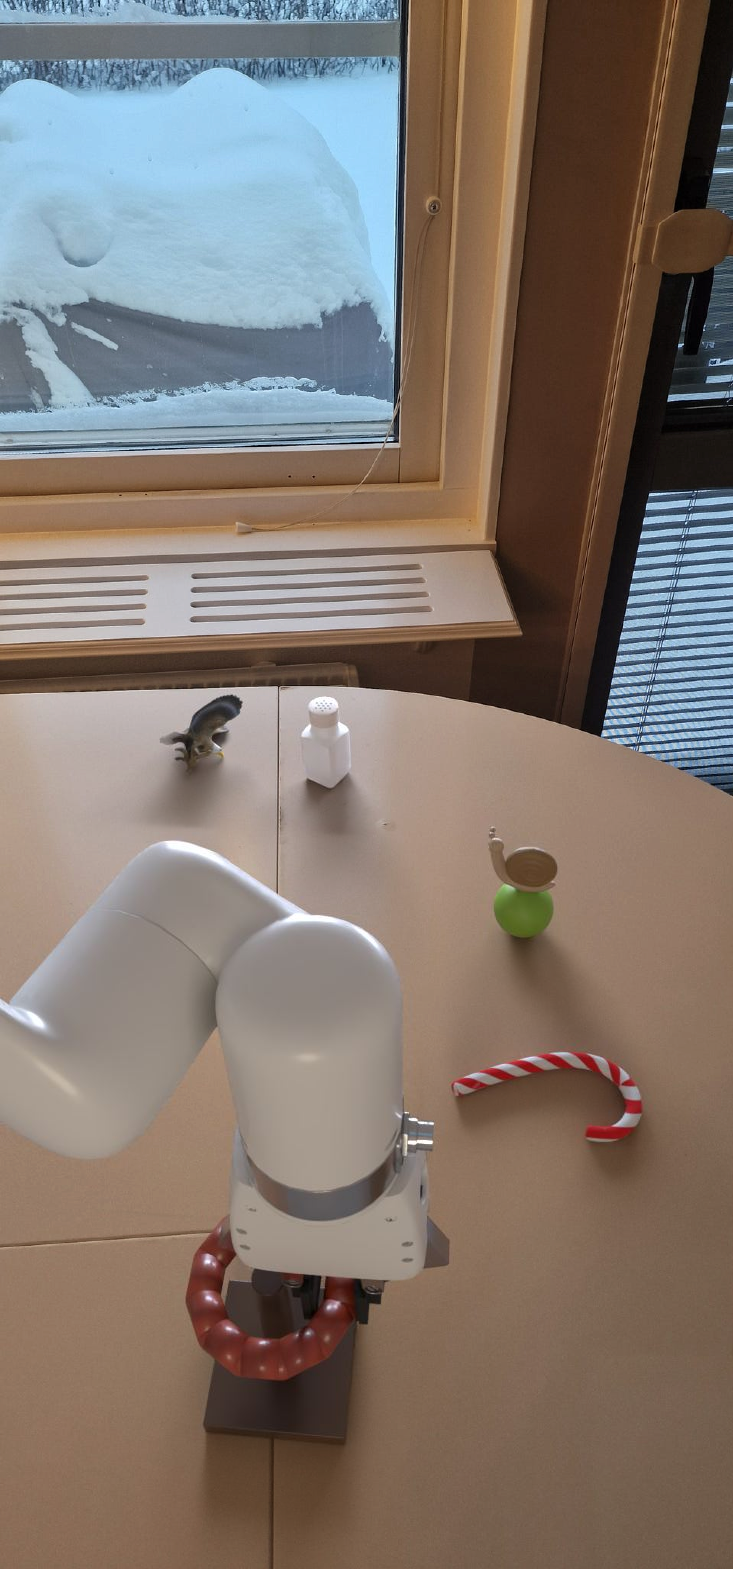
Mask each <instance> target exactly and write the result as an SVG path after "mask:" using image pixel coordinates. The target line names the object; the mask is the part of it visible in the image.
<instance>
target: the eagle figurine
mask: <svg viewBox="0 0 733 1569" xmlns="http://www.w3.org/2000/svg"><path fill="white" fill-rule="evenodd" d="M243 703H244V701H242V700H241V698H240V697H239V696H237V695H235V694H226V695H219V697H216V698H214V699H212V700H211V701H210V702H208V703H206V704H205V705H203V706H202V707H201V708H200V709H198V710H197V711H195V713H194V714H193V715H192V717H191V719H190V720H191V721H190V723H189V727H187V728H186V729H185V730H183V731H182V732H178V731H173V732H170V733H167V734H166V735H164V736H161V737H160V738H159V743H160V744H162V745H165V746H172V745H176V744H178V743H180V744H183V745H184V747H185V748H184V747H182V746H180V747H176V748H174V751H176V752H177V751H179V752H181V753H182V754H183V757H182V756H176V757H174V760H175V761H177V762H179V761H181V762H184V763H185V767H186V769H185V772H186V774H190V772H191V771H192V770H193V769H195V767H196V766H197V763H198V761H199V760H200V759H204V758H207V757H209V756H210V755H211V753H212V754H215V755H218V756H219V757H221V758H225V754H224V753H223V749H222V747H220V746H219V745H217V744H216V743H215V742H214V741H213V740H212V737H213V735H216V734H220V733H227V732H229V731H230V729H228V727H226V726H225V725H226V724H227V723H228V722H229V721H232V720H233V719H235V718H237V717H238V716H239V715H240V714H241V709H242V707H243ZM200 751H202V752H200Z"/></svg>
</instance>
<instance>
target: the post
mask: <svg viewBox="0 0 733 1569" xmlns="http://www.w3.org/2000/svg"><path fill="white" fill-rule="evenodd" d="M324 1288H325V1286H324V1287H322V1286H320V1295H319V1303H318V1308H319V1306H320V1305H321V1304H322V1302H323V1297H324ZM224 1306H225V1309H226V1311H227V1314H228V1317H229V1320H230V1321H231V1322H232V1323H234V1324H235V1325H236V1326H238V1327H239V1328H240V1329H241V1330H243V1331H244V1332H245V1333H247V1334H248V1335H249V1336H250V1337H259V1338H272V1339H281V1338H283V1337H285V1336H287V1335H289V1334H291V1333H293V1332H295V1331H297V1330H299V1329H301V1328H303V1327H305V1326H306V1325H307V1324H308V1322H309V1321H310V1320H305V1319H304V1316H303V1310H302V1303H301V1298H296V1297H293V1295H292V1290H291V1287H287V1286H285V1285H283V1284H282V1279H281V1273H280V1272H276V1271H267V1270H261V1269H256V1268H253V1271H252V1274H251V1277H250V1281H249V1280H238V1279H229V1280H228V1284H227V1290H226V1295H225V1301H224ZM357 1323H358V1321H356V1320H355V1319H354V1321H353V1322H352V1324H351V1325H350V1327H349V1328H348V1330H347V1331H346V1333H345V1334H344V1336H343V1337H342V1339H341V1340H340V1342H339V1343H338V1345H337V1346H336V1348H335V1349H334V1351H333V1352H332V1354H331V1355H330V1356H329V1357H328V1358H327V1359H326V1360H324V1361H322V1362H320V1363H318V1364H316V1365H314V1366H312V1367H310V1368H308V1369H306V1370H304V1371H303V1372H301V1373H299V1374H297V1375H295V1376H293V1377H291V1378H289V1379H287V1380H269V1379H257V1378H244V1377H238V1376H236V1375H234V1374H233V1373H231V1372H230V1371H229V1370H228V1369H226V1368H225V1367H224V1366H223V1365H221V1364H220V1363H219V1362H218V1361H216V1360H215V1359H214V1360H213V1367H212V1372H211V1378H210V1384H209V1389H208V1395H207V1399H206V1400H207V1402H206V1405H205V1411H204V1417H203V1423H202V1426H203V1428H204V1431H205V1433H207V1434H217V1435H227V1436H229V1435H230V1436H237V1437H238V1436H239V1437H250V1438H260V1439H271V1440H280V1441H281V1440H282V1441H290V1442H291V1441H292V1442H303V1443H313V1444H324V1445H335V1446H346V1445H347V1434H348V1424H349V1423H348V1421H349V1411H350V1400H351V1398H350V1397H351V1388H352V1377H353V1365H354V1357H355V1356H354V1355H355V1343H356V1335H357V1334H356V1333H357Z"/></svg>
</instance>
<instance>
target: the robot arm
mask: <svg viewBox="0 0 733 1569" xmlns="http://www.w3.org/2000/svg"><path fill="white" fill-rule="evenodd" d="M402 992H403V991H402V983H401V979H400V975H399V972H398V970H397V967H396V965H395V963H394V961H393V959H392V957H391V956H390V954H389V953H388V951H387V950H386V949H385V947H384V946H383V944H382V943H380V941H379V940H378V939H376V937H374V936H373V935H372V934H371V933H369V932H368V931H366V930H365V929H363V928H362V927H360V926H359V925H356V924H354V923H352V922H350V921H347V920H344V919H341V918H337V917H333V916H330V915H329V916H328V915H321V914H311V913H308V911H305V910H304V909H302V908H300V907H299V906H297V905H296V904H294V903H292V902H291V901H289V900H287V899H286V898H285V897H282V896H281V895H279V894H278V893H277V892H275V891H273V890H272V889H270V888H269V887H267V886H266V885H265V884H264V883H261V882H260V881H259V880H258V879H256V878H254V877H253V876H251V875H250V874H249V873H247V872H245V871H244V870H243V869H241V868H239V867H238V866H237V865H235V864H233V863H232V862H230V861H229V860H228V859H227V858H225V857H224V856H222V855H221V854H219V853H217V852H215V851H212V850H210V849H208V848H206V847H202V846H200V845H197V844H194V843H191V842H187V841H183V840H163V841H159V842H156V843H154V844H151V845H149V846H148V847H146V848H145V849H143V850H142V851H140V853H138V854H136V856H134V857H133V859H132V860H131V861H129V863H127V865H126V866H125V867H124V868H123V869H122V870H121V871H120V873H119V874H118V875H117V876H116V877H115V878H114V880H113V881H112V882H111V883H110V885H108V886H107V888H106V889H105V890H104V892H102V894H101V895H100V896H99V897H98V898H97V899H96V900H95V902H94V903H93V904H92V905H91V907H90V908H88V910H87V911H86V913H85V914H84V915H82V917H80V918H79V919H78V920H77V922H76V923H75V924H74V925H73V926H72V927H71V929H69V931H68V932H67V934H65V935H64V937H63V938H62V939H61V940H60V942H59V943H58V944H57V945H56V946H55V947H54V949H53V950H52V951H51V952H50V953H49V955H47V957H45V959H44V960H43V961H42V963H40V965H39V966H38V967H37V968H36V970H35V971H34V972H33V973H32V974H31V975H30V976H29V978H28V979H27V980H26V981H25V982H24V983H23V985H22V986H21V987H20V988H19V989H18V990H17V991H16V993H15V994H14V995H13V996H12V998H11V999H9V1001H8V1003H7V1002H6V1001H4V1000H3V999H2V998H0V1123H1V1124H3V1125H4V1126H6V1127H7V1128H9V1130H12V1131H13V1132H15V1133H17V1134H18V1135H19V1136H22V1137H23V1138H25V1139H27V1140H29V1141H30V1142H32V1143H34V1144H35V1145H36V1146H38V1147H40V1148H43V1149H45V1150H47V1151H49V1152H52V1153H53V1154H56V1155H58V1156H59V1155H60V1156H62V1157H66V1158H68V1159H72V1160H73V1159H74V1160H79V1161H80V1160H81V1161H99V1160H104V1159H107V1158H111V1157H113V1156H115V1155H118V1154H120V1153H122V1152H123V1151H125V1150H128V1148H130V1147H131V1146H132V1145H134V1144H135V1143H136V1142H137V1141H139V1139H140V1138H141V1137H142V1136H143V1135H144V1134H145V1133H146V1132H147V1131H148V1129H149V1128H150V1127H151V1126H152V1124H153V1123H154V1121H155V1120H156V1119H157V1118H158V1116H159V1114H160V1113H161V1112H162V1111H163V1109H164V1107H165V1106H166V1105H167V1103H168V1102H169V1100H170V1099H171V1097H172V1096H173V1095H174V1094H175V1092H176V1090H177V1088H178V1087H179V1085H180V1084H181V1082H182V1081H183V1079H184V1078H185V1076H186V1074H187V1073H188V1071H189V1070H190V1068H191V1066H192V1065H193V1063H194V1062H195V1061H196V1059H197V1057H198V1056H199V1054H200V1053H201V1051H202V1050H203V1048H204V1047H205V1045H206V1044H207V1042H208V1040H209V1039H210V1037H211V1036H212V1034H213V1033H214V1031H215V1030H216V1028H217V1031H218V1035H219V1036H218V1037H219V1041H220V1045H221V1051H222V1055H223V1060H224V1065H225V1070H226V1075H227V1079H228V1085H229V1089H230V1090H229V1091H230V1094H231V1099H232V1104H233V1109H234V1113H235V1118H236V1119H235V1120H236V1124H235V1128H234V1131H233V1138H232V1142H231V1155H230V1165H229V1178H228V1204H229V1205H228V1206H229V1207H228V1208H229V1210H228V1212H229V1213H228V1214H227V1215H228V1216H227V1215H226V1216H227V1217H226V1216H225V1217H226V1218H225V1219H224V1221H223V1222H222V1226H221V1231H220V1236H219V1241H218V1246H219V1247H220V1248H222V1249H225V1250H229V1251H233V1252H236V1254H237V1255H236V1256H237V1258H238V1259H239V1260H240V1262H242V1263H243V1264H244V1265H245V1266H246V1267H249V1268H253V1269H255V1268H256V1269H261V1270H267V1271H276V1272H280V1273H281V1279H282V1284H283V1285H285V1286H287V1287H291V1290H292V1295H293V1297H296V1298H301V1303H302V1310H303V1316H304V1319H305V1320H310V1319H311V1318H312V1317H313V1315H314V1314H315V1312H316V1311H317V1309H318V1303H319V1295H320V1287H322V1286H321V1285H322V1278H323V1277H326V1276H332V1277H346V1278H355V1286H354V1308H355V1320H356V1321H357V1322H358V1325H366V1326H368V1324H369V1316H370V1315H369V1314H370V1305H381V1304H382V1297H383V1296H382V1294H384V1292H385V1284H386V1283H388V1282H391V1281H408V1280H411V1279H413V1278H415V1277H416V1276H418V1275H419V1274H420V1273H421V1272H422V1271H423V1270H424V1269H433V1268H441V1267H446V1266H448V1265H449V1264H450V1249H451V1248H450V1246H451V1244H450V1243H451V1241H450V1238H448V1236H447V1235H446V1234H445V1233H444V1232H443V1231H442V1230H441V1229H440V1227H439V1226H438V1225H437V1224H436V1223H435V1222H434V1221H433V1220H432V1219H431V1218H430V1217H429V1215H428V1213H430V1181H429V1179H430V1178H429V1169H428V1162H427V1155H426V1152H433V1148H434V1124H435V1121H434V1120H423V1119H419V1117H418V1116H411V1113H410V1112H406V1111H405V1108H404V1106H405V1102H404V1101H405V1095H404V1094H403V1092H404V1091H403V1090H404V1087H403V1086H404V1085H403V1084H404V1083H403V1082H404V1079H403V1077H404V1071H403V1070H404V1069H403V1068H404V1067H403V1065H404V1062H403V1061H404V1057H403V1054H404V1053H403V1052H404V1051H403V1048H404V1046H403V1043H404V1042H403V1041H404V1040H403V1038H404V1037H403V1036H404V1035H403V1032H404V1031H403V1030H404V1029H403V1022H404V1021H403V1020H404V1019H403V1018H404V1017H403V1015H404V1014H403V1013H404V1012H403V1007H404V1006H403V1004H404V1003H403V993H402Z"/></svg>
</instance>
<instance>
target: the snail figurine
mask: <svg viewBox="0 0 733 1569" xmlns="http://www.w3.org/2000/svg"><path fill="white" fill-rule="evenodd" d="M496 830H497V829H496V827H495V826H490V828H489V833H488V838H490V839H489V841H488V842H487V846H488V847H487V848H488V851H489V852H490V859H491V863H492V867H493V870H494V872H495V875H496V876H497V878H498V879H499V880H500V881H501V882H502V883H503V885H502V886H500V888H499V889H498V891H497V892H496V895H495V897H494V900H493V914H494V917H495V920H496V922H497V923H498V925H499V926H500V928H502V930H504V931H505V932H506V933H508V934H509V935H511V936H514V937H516V938H517V937H518V938H530V937H531V938H532V937H533V936H537V935H538V934H539V935H540V933H542V932H543V931H544V930H545V929H546V928H547V927H548V926H549V925H550V923H551V921H552V918H553V917H554V916H553V915H554V908H555V906H554V901H553V897H552V895H551V893H550V891H549V890H550V889H552V888H553V887H555V886H556V882H555V881H553V880H554V879H555V878H556V876H557V874H558V868H559V867H558V863H557V861H556V859H555V858H554V856H553V855H552V854H551V853H549V852H548V851H547V850H545V849H543V848H540V847H536V846H522V847H519V848H516V849H514V850H513V851H512V852H510V853H509V854H508V855H507V858H506V859H505V855H504V849H505V843H504V841H503V840H502V839H500V838H498V837H495V835H496V834H495V833H496Z"/></svg>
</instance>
